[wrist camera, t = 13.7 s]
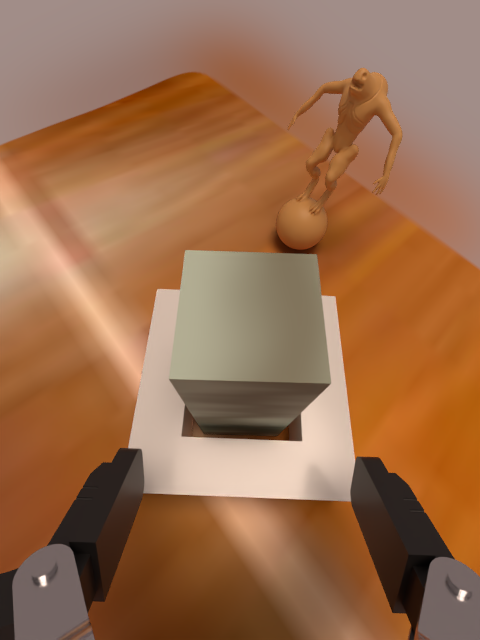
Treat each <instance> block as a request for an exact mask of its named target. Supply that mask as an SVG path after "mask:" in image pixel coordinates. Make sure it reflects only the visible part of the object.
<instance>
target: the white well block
mask: <svg viewBox="0 0 480 640" xmlns="http://www.w3.org/2000/svg"><path fill="white" fill-rule="evenodd" d="M179 296H180V290H168V289H157V294H156V299H155V305H154V310H153V316H152V321H151V326H150V332H149V337H148V343H147V348H146V354H145V359H144V365H143V370H142V376H141V381H140V386H139V392H138V397H137V403H136V408H135V414H134V419H133V425H132V430H131V435H130V441H129V446H128V448H139V449H141V450H142V455H143V468H144V492H143V493H152V494H178V495H203V496H228V497H253V498H278V499H303V500H329V501H351V496H350V489H351V483H352V477H353V472H354V466H355V457H354V449H353V441H352V432H351V424H350V416H349V407H348V399H347V391H346V382H345V374H344V365H343V357H342V349H341V340H340V332H339V324H338V315H337V307H336V299H335V296H322V304H323V313H324V322H325V331H326V340H327V349H328V358H329V367H330V376H331V384H330V385H329V386H328V387H327V388H326V389H325V390H324V391H323V392H322V393H321V394H320V395H319V396H318V397H317V398H316V399H315V400H314V401H313V402H312V403H311V404H310V405H309V406H308V407H307V408H306V409H304V410H303V411H302V412H301V413H300V414H299V415H298V416H297V417H296V418H295V419H294V420H293V421H292V422H291V423H290V424H289V441H280V440H255V439H230V438H205V437H192V429H193V419H194V417H193V416H192V414H191V413H190V411H189V410H188V408H187V407H186V405H185V404H184V402H183V400H182V399H181V397H180V396H179V394H178V393H177V391H176V390H175V388H174V386H173V385H172V383H171V382H170V380H169V373H170V365H171V357H172V350H173V342H174V334H175V327H176V319H177V311H178V303H179Z"/></svg>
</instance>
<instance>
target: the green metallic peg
mask: <svg viewBox="0 0 480 640" xmlns="http://www.w3.org/2000/svg"><path fill="white" fill-rule="evenodd" d="M169 380H170V382H171V383H172V385H173V386H174V388H175V390H176V391H177V393H178V394H179V396H180V397H181V399H182V400H183V402H184V404H185V405H186V407H187V408H188V410H189V411H190V413H191V414H192V416H193V417H194V419H195V421H196V422H197V424H198V425H199V427H200V428H201V430H202V431H203V433H204V434H217V435H255V436H278V435H279V434H280V433H281V432H282V431H283V430H284V429H285V428H286V427H287V426H288V425H289V424H290V423H291V422H292V421H293V420H294V419H295V418H296V417H297V416H298V415H299V414H300V413H301V412H302V411H303V410H304V409H306V408H307V407H308V406H309V405H310V404H311V403H312V402H313V401H314V400H315V399H316V398H317V397H318V396H319V395H320V394H321V393H322V392H323V391H324V390H325V389H326V388H327V387H328V386H329V385H330V384H331V376H330V367H329V358H328V349H327V340H326V331H325V322H324V313H323V304H322V296H321V287H320V278H319V269H318V260H317V254H290V253H258V252H226V251H194V250H185V257H184V265H183V272H182V280H181V288H180V296H179V303H178V311H177V319H176V327H175V334H174V342H173V350H172V357H171V365H170V373H169Z"/></svg>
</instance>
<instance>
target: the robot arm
mask: <svg viewBox="0 0 480 640" xmlns="http://www.w3.org/2000/svg"><path fill="white" fill-rule="evenodd" d="M143 492H144V468H143V455H142V450H141V449H139V448H120V449H119V450H118V452H117V454H116V455H115V457H114V459H113V461H112V463H104V462H103V463H102V464H101V465H100V466H99V467H98V468H96V469H95V470H94V471H93V472H92V473H91V474H90V476H89V477H88V479H87V481H86V482H85V484H84V486H83V489H81V491H80V492H79V494H78V496H77V498H76V500H75V501H74V502H73V504H72V506H71V507H70V509H69V511H68V512H67V514H66V516H65V517H64V519H63V521H62V522H61V524H60V526H59V527H58V529H57V531H56V532H55V534H54V536H53V537H52V539H51V541H50V542H49V544H48V545H47V546H46V547H44V548H41V549H40V550H38V551H36V552H35V553H33V554H32V555H31V556H29V557H28V558H27V559H26V560H25V561H24V562H23V563H22V565H21V566H20V567H19V568H18V569H15V570H12V571H9V572H6V573H2V574H0V640H95V639H94V635H93V631H92V627H91V624H90V622H89V618H88V612H89V609H90V607H91V604H92V601H99V602H105V599H106V597H107V594H108V591H109V588H110V586H111V583H112V580H113V577H114V575H115V572H116V569H117V566H118V563H119V561H120V558H121V555H122V552H123V550H124V547H125V544H126V541H127V539H128V536H129V533H130V530H131V528H132V525H133V522H134V519H135V517H136V514H137V511H138V508H139V506H140V503H141V500H142V497H143ZM350 496H351V503H352V507H353V510H354V512H355V515H356V518H357V520H358V523H359V526H360V528H361V531H362V533H363V536H364V539H365V541H366V544H367V547H368V549H369V552H370V555H371V557H372V560H373V562H374V565H375V568H376V570H377V573H378V576H379V578H380V581H381V583H382V586H383V589H384V591H385V594H386V597H387V599H388V602H389V604H390V607H391V610H392V612H393V613H406V614H407V616H408V619H409V621H410V623H411V628H410V631H409V636H408V640H480V577H479V576H478V575H477V574H476V573H475V572H474V571H473V570H472V569H470V568H469V567H467V566H466V565H464V564H463V563H461V562H459V561H457V560H455V559H454V557H453V556H452V554H451V553H450V551H449V549H448V548H447V546H446V545H445V543H444V541H443V540H442V538H441V537H440V535H439V533H438V532H437V530H436V529H435V527H434V525H433V524H432V522H431V521H430V519H429V517H428V516H427V514H426V513H424V509H423V508H422V506H421V504H420V503H419V501H417V498H416V496H415V495H414V493H413V492H412V490H411V488H410V487H409V485H408V484H407V483H406V482H405V481H403V480H402V479H401V478H400V477H399V476H398V475H397V474H396V473H388V471H387V469H386V468H385V466H384V464H383V462H382V461H381V459H380V458H378V457H357V458H356V461H355V466H354V472H353V477H352V483H351V489H350Z"/></svg>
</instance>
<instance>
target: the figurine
mask: <svg viewBox="0 0 480 640" xmlns="http://www.w3.org/2000/svg"><path fill="white" fill-rule="evenodd" d="M387 92H388V85H387V81H386V79H385V78H384V77H383V76H382V75H381V74H379V73H375V72H372V73H369V71H368V70H367V69H365V68H360V69H359V70H358V71H357V72H356V73H355V74H354V76H353V78H348V79H345V80H343V81H333V82H328V83H325V84H323V85H322V86H321V87H320V88H319V89H318V90H317V91H316V93H315V94H314V95H313V96H312V97H311V98H310V99H309V100H307V101H306V102H305V103H304V104H303V105H302V106H301V107H300V109H299V110H298V111H297V112H296V113H295V115H294V117H293V118H292V120H291V123H290V124H289V126H288V130H289V129H290V127H291V126H292V125H293V124H294V122H295V120H296V119H297V117H298V116H300V115H301V114H303V113H304V112H306V111H307V110H308V109H309V108H310V107H312V106H313V104H314V103H315V102H316V101H318V100H319V99H320V97H321V96H322V95H323V94H324V93H329V94H342V97H341V100H340V103H339V108H338V115H339V117H338V126H337V129H336V132H335V133H334V130H333V129H332V128H328V129H327V130H326V131H325V134H324V136H323V138H322V140H321V143H320V144H319V145H318V147H317V148H316V149H315V151H314V152H313V154H312V155H311V157H310V158H309V159H308V160H307V161H306V169H307V171H308V172H309V174H310V175H311V177H312V178H313V179H312V181H311V182H310V184H309V185H308V187H307V188H306V190H305V191H304V192H303V193H302V194H301V195H299V196H298V197H297V198H294V199H292V200H290V201H288V202H287V203H286V204H285V205H284V206H283V207H282V208H281V210H280V211H279V213H278V216H277V220H276V230H277V234H278V236H279V238H280V239H281V241H282V242H283V243H284V244H285V245H287V246H288V247H290V248H293V249H297V250H303V249H308V248H311V247H313V246H314V245H316V244H317V243H318V242H319V241H320V240H321V239H322V238H323V236H324V234H325V232H326V229H327V215H326V212H325V210H324V208H323V205H324V204H325V202H326V201H327V199H328V198H329V196H330V195H331V193H332V192H333V190H334V189H335V188H336V186H337V183H336V180H337V179H338V178H339V177H340V176H341V175H342V174H343V173H344V172H345V170H346V169H347V167H348V165H349V164H350V163H351V162H352V161H353V160H354V159H355V157H356V156H357V155H358V152H359V149H358V146H357V145H355V144H353V145H352V143H353V141H354V140H355V139H356V137H357V136H358V134H359V133H360V132H361V131H362V130H363V129H364V128H365V126H366V125H367V124H368V123H369V122H370V120H371V119H372V118H373V116H374V115H377V116H379V118H380V119H381V121H382V122H383V124H384V125H385V127H386V128H387V130H388V131H389V133H390V134H391V135H392V141H391V144H390V148H389V152H388V155H387V158H386V161H385V164H384V171H383V176H382V178H380V179H378V180H376V181H375V182H374V183H373V184H375V183H377V182H378V183H379V184H378V185H377V186H376V188H375V189H374V191H373V192H372V193H374V192H375V191H376V190H377V189H378V188H379V190H378V191H377V193H376V195H377V194H378V193H379V192H380V190H381V189H382V190H381V192H382V191H383V190H384V188H385V186H386V184H387V182H388V179H389V175H390V171H391V169H392V166H393V163H394V159H395V156H396V153H397V150H398V147H399V145H400V143H401V140H402V130H401V127H400V125H399V123H398V120H397V118H396V117H395V115H394V114H393V111H392V108H391V104H390V101H389V100H388V98H387ZM333 148H334V151H335V152H336V153H337V154H336V155H335V156H334V157H333V158H332V159H331V161H330V164H329V169H328V172H327V174H326V177H325V185H326V188H327V190H326V191H325V192H324V194H323V195H322V196H321V198H320V199H319V200H318V201H316V200H314V199H312V198H309V196H310V194H311V193H312V191H313V189H314V188H315V186H316V184H317V182H318V180H319V176H320V169H319V168H318V167H316V166H317V165H318V164H319V163H322V162H324V161H326V160H327V159H328V157H329V155H330V154H331V152H332V150H333ZM381 192H380V194H381Z"/></svg>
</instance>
